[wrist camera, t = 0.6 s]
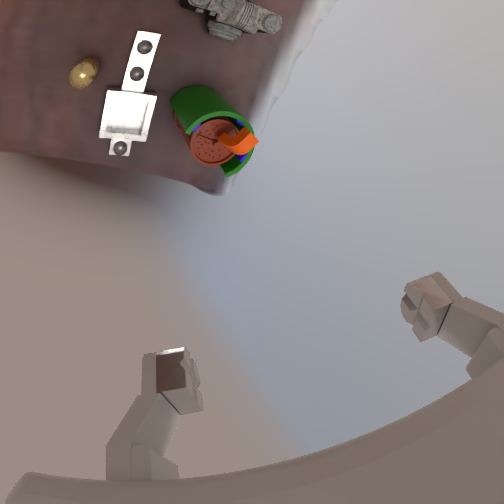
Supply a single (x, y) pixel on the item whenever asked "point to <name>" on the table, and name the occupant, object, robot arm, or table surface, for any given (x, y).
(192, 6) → the camera
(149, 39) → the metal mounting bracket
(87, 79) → the link pin
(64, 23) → the table surface
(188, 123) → the motor
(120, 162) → the table surface
